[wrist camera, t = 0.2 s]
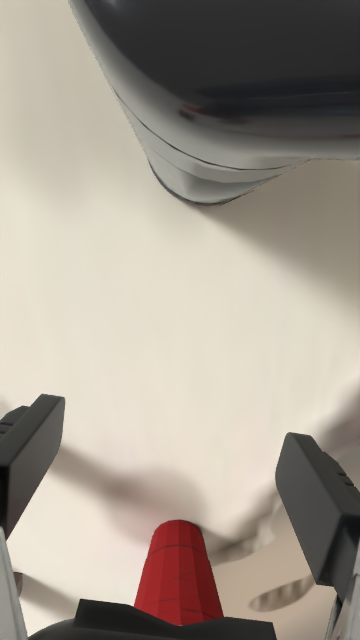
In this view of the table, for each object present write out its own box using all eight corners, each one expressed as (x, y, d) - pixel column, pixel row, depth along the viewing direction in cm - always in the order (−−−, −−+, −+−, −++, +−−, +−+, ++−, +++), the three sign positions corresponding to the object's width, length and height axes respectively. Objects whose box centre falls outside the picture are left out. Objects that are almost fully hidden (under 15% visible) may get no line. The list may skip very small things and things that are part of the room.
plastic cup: (238, 558, 37) (265, 711, 25) (153, 581, 38) (140, 737, 26) (209, 489, 34) (223, 627, 22) (116, 515, 35) (85, 660, 23)
